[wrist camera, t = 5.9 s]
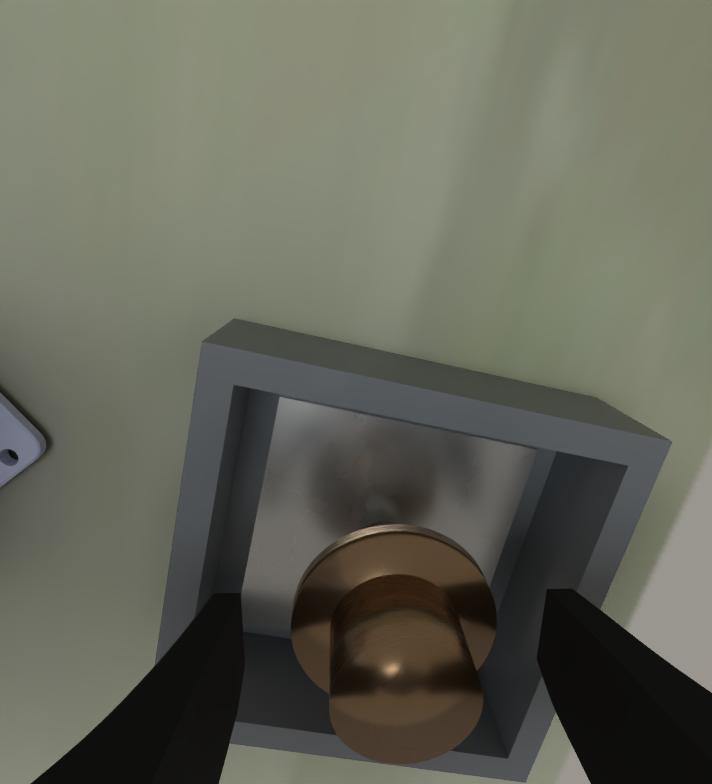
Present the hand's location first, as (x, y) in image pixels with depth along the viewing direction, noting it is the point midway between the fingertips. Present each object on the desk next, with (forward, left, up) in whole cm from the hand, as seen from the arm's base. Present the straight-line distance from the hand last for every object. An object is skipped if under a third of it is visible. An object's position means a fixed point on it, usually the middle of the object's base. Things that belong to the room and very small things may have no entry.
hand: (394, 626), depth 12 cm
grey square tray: (0, 0, -4) cm, 4 cm away
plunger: (0, 0, -5) cm, 5 cm away
